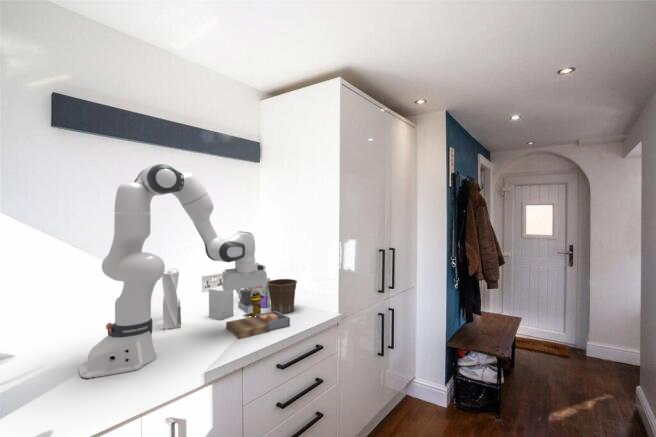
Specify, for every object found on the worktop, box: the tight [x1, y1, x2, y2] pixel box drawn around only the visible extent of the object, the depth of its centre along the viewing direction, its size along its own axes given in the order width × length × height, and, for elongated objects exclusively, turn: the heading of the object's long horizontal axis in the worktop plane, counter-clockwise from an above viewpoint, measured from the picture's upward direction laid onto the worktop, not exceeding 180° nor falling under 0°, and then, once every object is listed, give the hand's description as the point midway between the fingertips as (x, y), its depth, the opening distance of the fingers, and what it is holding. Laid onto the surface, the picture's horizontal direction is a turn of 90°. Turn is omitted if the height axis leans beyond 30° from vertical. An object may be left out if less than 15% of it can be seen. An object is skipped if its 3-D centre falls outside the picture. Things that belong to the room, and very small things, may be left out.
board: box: [225, 316, 270, 340], centre depth 146 cm, size 14×16×3 cm
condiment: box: [243, 292, 262, 318], centre depth 168 cm, size 7×8×12 cm
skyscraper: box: [161, 267, 182, 330], centre depth 150 cm, size 8×8×28 cm
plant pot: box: [267, 278, 298, 315], centre depth 176 cm, size 16×16×16 cm
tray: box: [256, 311, 291, 332], centre depth 153 cm, size 11×14×4 cm
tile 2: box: [267, 313, 278, 324], centre depth 150 cm, size 5×5×3 cm
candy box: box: [243, 277, 271, 309], centre depth 185 cm, size 14×6×16 cm, turn 80°
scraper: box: [237, 288, 253, 314], centre depth 146 cm, size 3×11×9 cm, turn 37°
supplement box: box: [208, 285, 234, 321], centre depth 166 cm, size 9×9×15 cm
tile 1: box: [259, 314, 267, 323], centre depth 155 cm, size 5×5×3 cm
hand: (245, 297), depth 145 cm, fingers closed on scraper, 3 cm apart
